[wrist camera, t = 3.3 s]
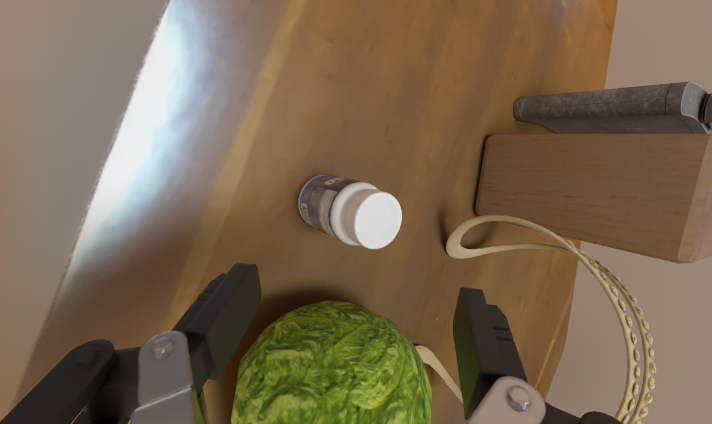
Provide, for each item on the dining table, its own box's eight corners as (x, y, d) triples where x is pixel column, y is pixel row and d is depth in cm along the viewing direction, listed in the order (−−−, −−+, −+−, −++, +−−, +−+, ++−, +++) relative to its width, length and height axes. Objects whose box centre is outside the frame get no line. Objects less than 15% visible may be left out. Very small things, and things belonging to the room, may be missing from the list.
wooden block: (515, 214, 47) (721, 257, 31) (470, 215, 41) (692, 268, 25) (529, 142, 45) (753, 146, 29) (483, 132, 40) (730, 132, 23)
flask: (517, 88, 42) (728, 63, 27) (569, 115, 50) (753, 107, 35) (511, 118, 42) (715, 109, 27) (563, 140, 50) (742, 142, 36)
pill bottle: (349, 180, 30) (413, 193, 24) (338, 230, 31) (398, 257, 24) (302, 168, 28) (360, 179, 21) (291, 224, 28) (343, 252, 21)
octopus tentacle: (434, 383, 44) (615, 531, 27) (368, 381, 37) (558, 577, 20) (492, 230, 44) (702, 285, 28) (438, 199, 38) (675, 249, 21)
